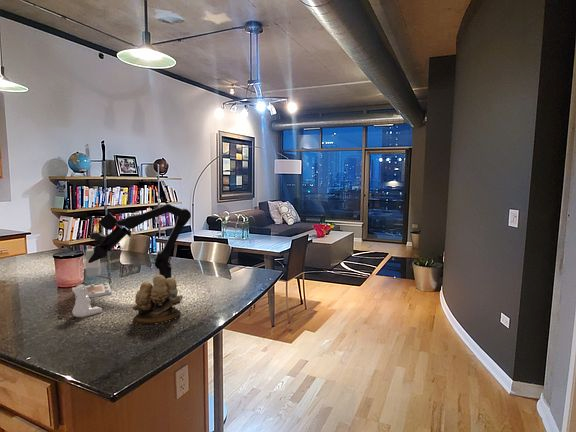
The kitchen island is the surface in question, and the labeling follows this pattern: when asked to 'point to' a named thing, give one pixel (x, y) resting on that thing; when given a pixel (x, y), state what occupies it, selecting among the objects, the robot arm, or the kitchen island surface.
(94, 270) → the grey green upright block
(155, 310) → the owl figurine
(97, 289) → the baseplate
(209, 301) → the kitchen island surface
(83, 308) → the seated beast figurine
